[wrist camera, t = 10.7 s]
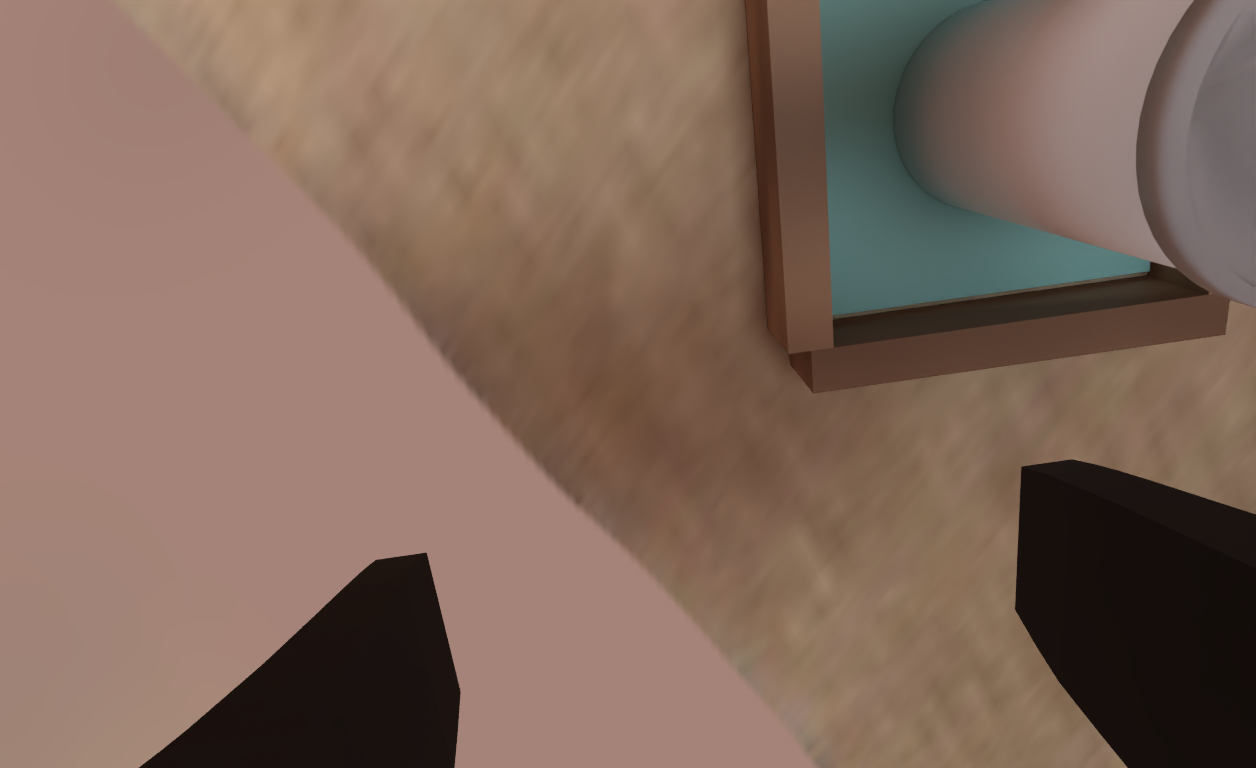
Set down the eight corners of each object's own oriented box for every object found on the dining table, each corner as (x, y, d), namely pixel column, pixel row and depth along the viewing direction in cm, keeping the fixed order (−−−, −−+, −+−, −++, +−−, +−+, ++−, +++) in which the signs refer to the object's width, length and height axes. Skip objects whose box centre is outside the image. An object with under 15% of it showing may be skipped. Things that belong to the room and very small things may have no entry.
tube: (1091, 202, 19) (1517, 287, 10) (887, 231, 19) (1151, 342, 10) (1104, -27, 17) (1623, -146, 9) (881, 4, 17) (1191, -87, 9)
